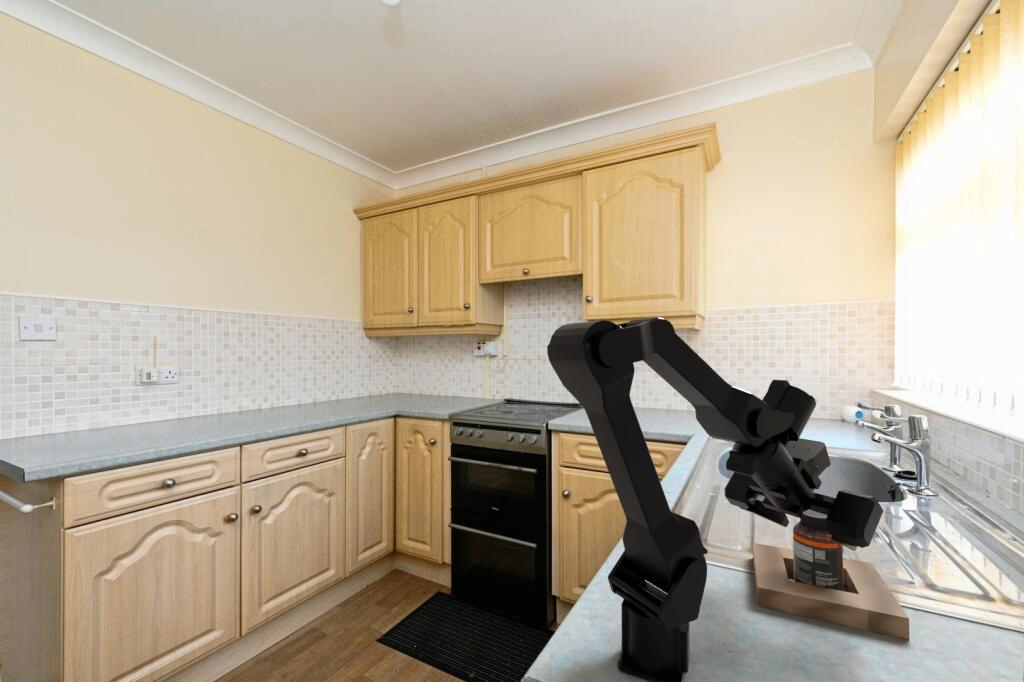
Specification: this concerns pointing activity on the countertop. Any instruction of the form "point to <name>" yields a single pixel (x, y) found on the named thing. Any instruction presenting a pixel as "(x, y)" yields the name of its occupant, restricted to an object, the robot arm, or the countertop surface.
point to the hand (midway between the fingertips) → (818, 535)
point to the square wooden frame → (829, 594)
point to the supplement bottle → (817, 553)
